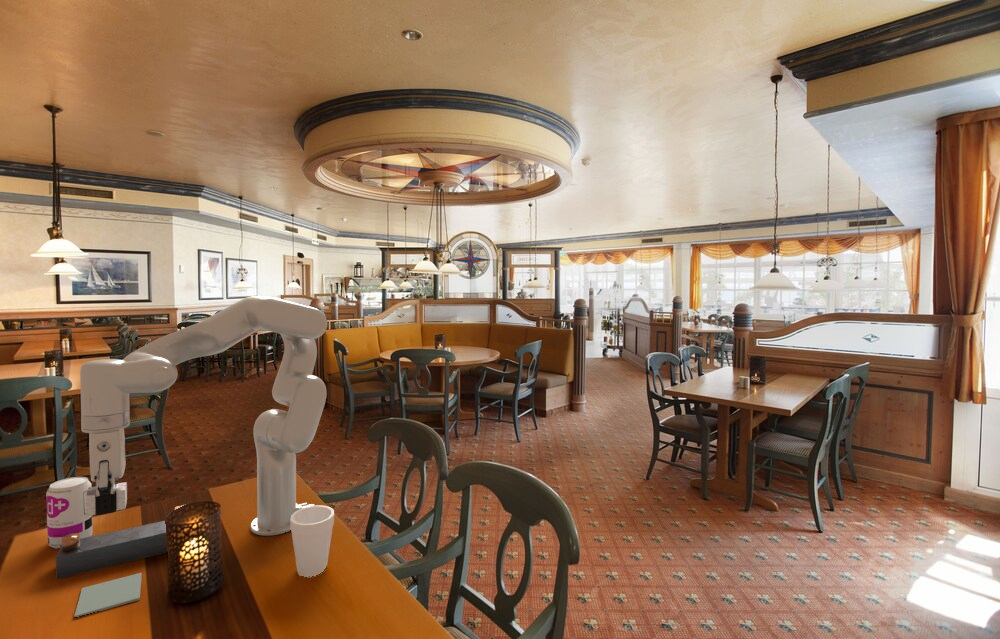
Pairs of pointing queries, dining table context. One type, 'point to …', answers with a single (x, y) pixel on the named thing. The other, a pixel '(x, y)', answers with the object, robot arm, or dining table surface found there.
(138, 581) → the mat
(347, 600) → the dining table surface
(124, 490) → the lever cap
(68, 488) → the supplement can
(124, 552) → the hand plane
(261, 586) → the dining table surface
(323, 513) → the foam cup
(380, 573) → the dining table surface
